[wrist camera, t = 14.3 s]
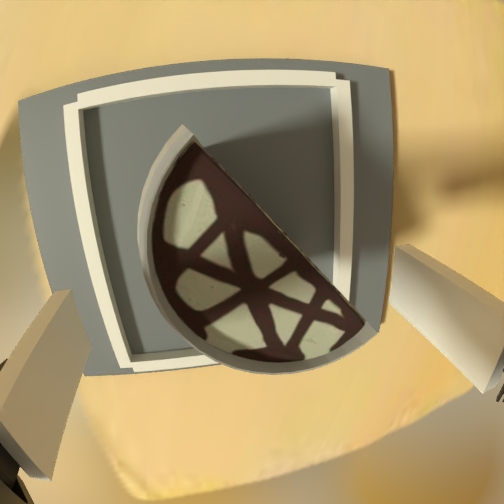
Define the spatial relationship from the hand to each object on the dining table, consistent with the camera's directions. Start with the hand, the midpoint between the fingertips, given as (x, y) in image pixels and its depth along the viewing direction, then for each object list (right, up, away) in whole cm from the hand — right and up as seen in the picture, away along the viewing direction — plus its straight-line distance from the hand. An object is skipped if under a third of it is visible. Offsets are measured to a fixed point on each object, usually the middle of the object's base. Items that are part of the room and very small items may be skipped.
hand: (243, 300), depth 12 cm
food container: (-2, +3, +9) cm, 10 cm away
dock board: (-2, +4, +10) cm, 11 cm away
